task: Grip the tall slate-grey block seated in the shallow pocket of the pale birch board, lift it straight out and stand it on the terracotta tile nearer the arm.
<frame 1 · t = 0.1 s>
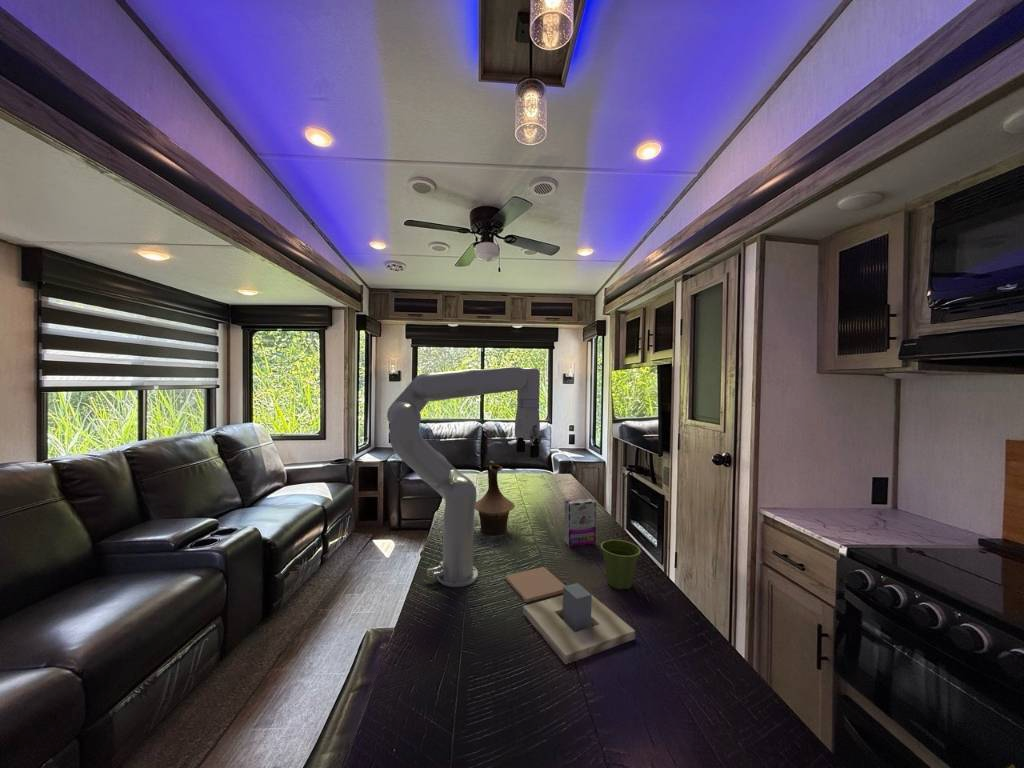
hand: (527, 454, 129), 37 cm above the table, tool pointing down, fingers open, 9 cm apart
holder: (576, 625, 97), on the table
plant pot: (619, 584, 117), on the table
block: (576, 608, 97), in the holder
tile: (535, 584, 115), on the table
candy bar box: (579, 543, 146), on the table
brown vase: (493, 530, 157), on the table
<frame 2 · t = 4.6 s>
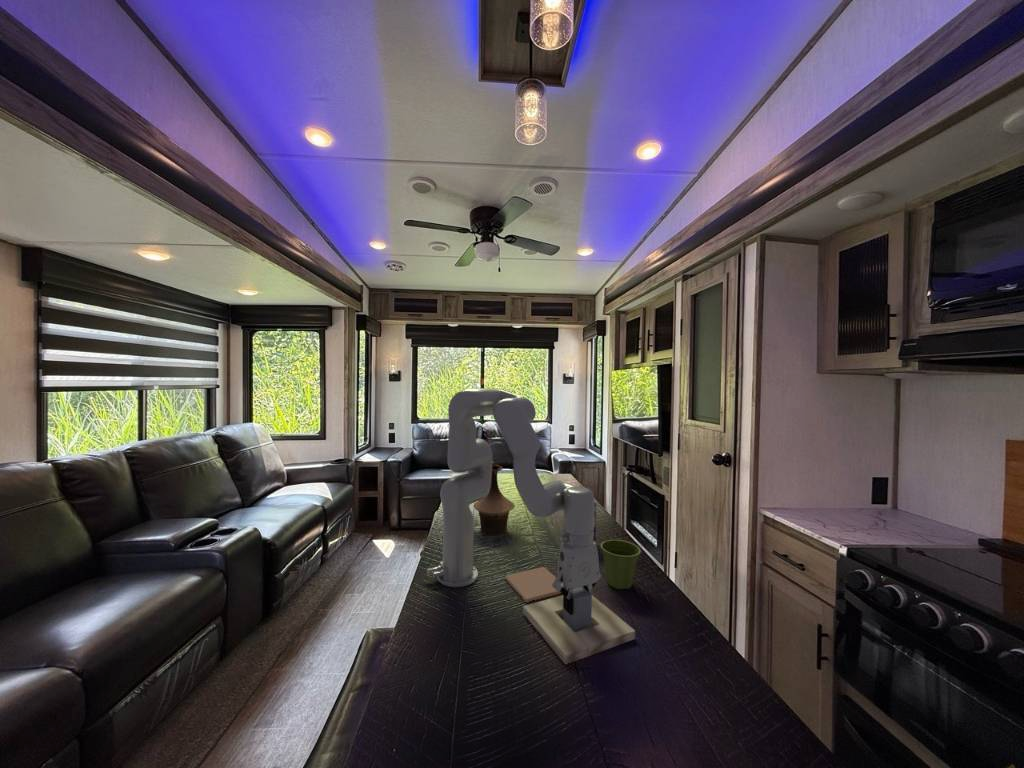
hand: (576, 608, 96), 4 cm above the table, tool pointing down, fingers closed on block, 4 cm apart
block: (576, 608, 97), in the holder, touching gripper
everything else where it was.
when the fingers open (7 cm above the table, at t = 10.8 s): block drops 1 cm, resting on tile.
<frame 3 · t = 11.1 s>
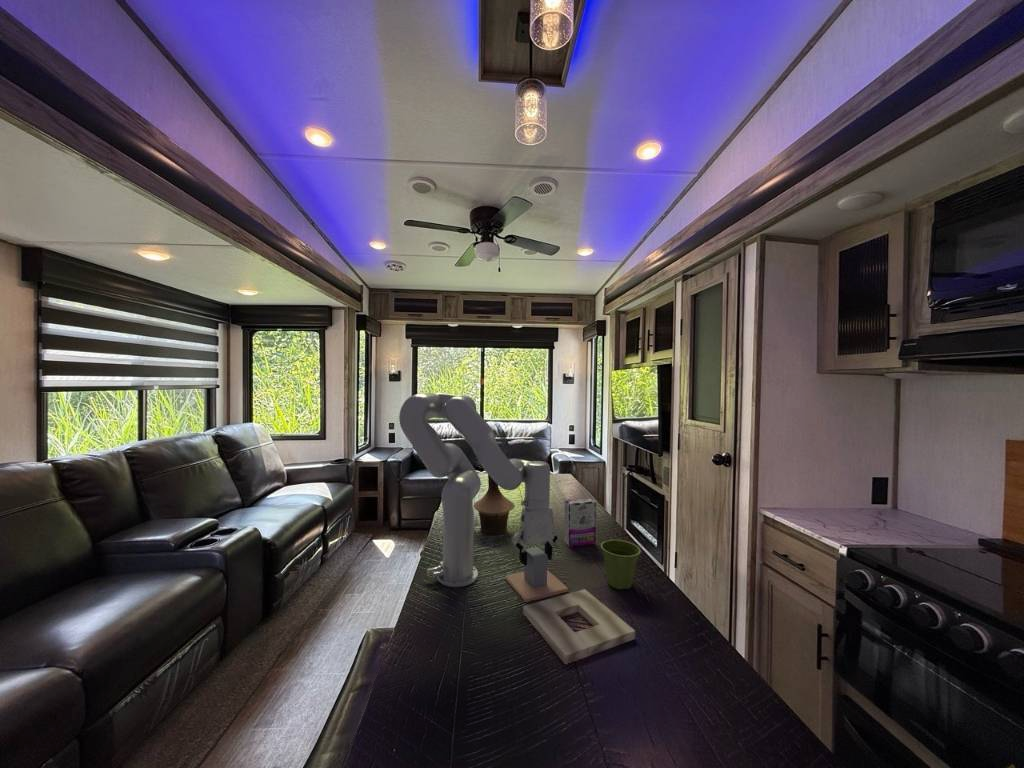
hand: (536, 560, 115), 7 cm above the table, tool pointing down, fingers open, 8 cm apart
block: (535, 566, 115), on the tile, point 6 cm above the table
everything else where it was.
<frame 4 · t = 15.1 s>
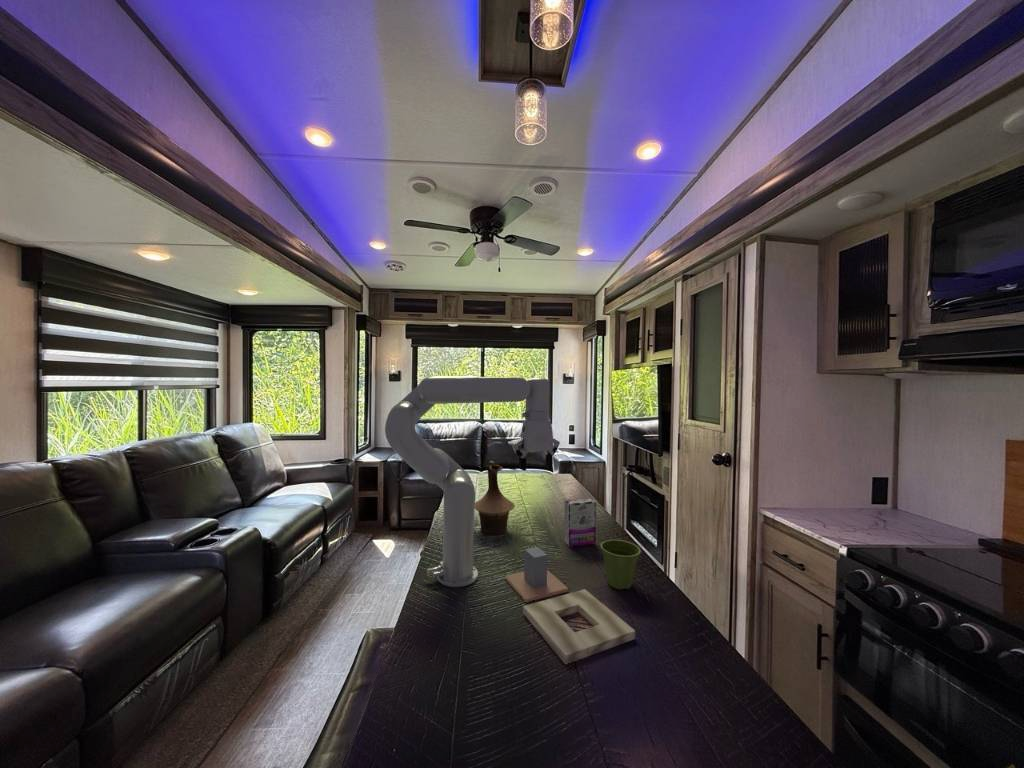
hand: (536, 468, 124), 33 cm above the table, tool pointing down, fingers open, 9 cm apart
nothing on the table moved.
at the end: block inside the target area on the tile (0.1 cm from its centre), point 5.5 cm above the tile's base; block tilted 0°; the gripper is holding nothing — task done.
